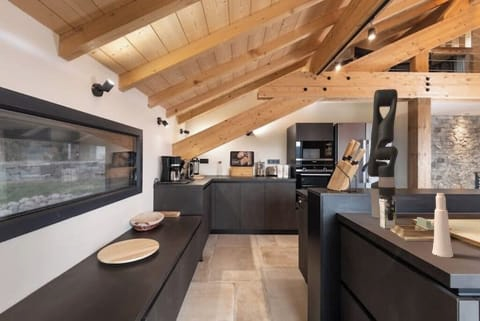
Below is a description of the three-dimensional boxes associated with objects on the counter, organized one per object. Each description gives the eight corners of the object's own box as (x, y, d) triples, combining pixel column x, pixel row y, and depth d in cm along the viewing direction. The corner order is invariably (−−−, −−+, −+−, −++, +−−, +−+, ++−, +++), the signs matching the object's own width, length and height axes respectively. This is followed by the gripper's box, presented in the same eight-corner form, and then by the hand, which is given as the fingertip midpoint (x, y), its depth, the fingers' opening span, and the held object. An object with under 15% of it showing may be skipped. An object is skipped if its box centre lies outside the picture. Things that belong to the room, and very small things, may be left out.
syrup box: (391, 226, 135) (390, 198, 135) (397, 229, 129) (396, 199, 129) (379, 226, 135) (378, 198, 135) (384, 229, 129) (383, 199, 129)
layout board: (390, 230, 127) (389, 223, 127) (428, 230, 124) (428, 223, 124) (406, 240, 110) (406, 232, 110) (451, 241, 108) (451, 233, 108)
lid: (416, 224, 121) (415, 216, 121) (438, 224, 120) (438, 217, 120) (427, 230, 112) (427, 221, 112) (452, 230, 111) (451, 221, 111)
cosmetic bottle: (442, 251, 97) (440, 192, 97) (458, 256, 91) (455, 194, 91) (427, 252, 96) (425, 192, 96) (443, 258, 90) (440, 194, 90)
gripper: (401, 187, 124) (402, 222, 124) (389, 184, 139) (390, 216, 139) (384, 187, 126) (385, 222, 126) (373, 184, 140) (375, 216, 140)
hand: (387, 218), depth 132 cm, fingers closed on syrup box, 6 cm apart
